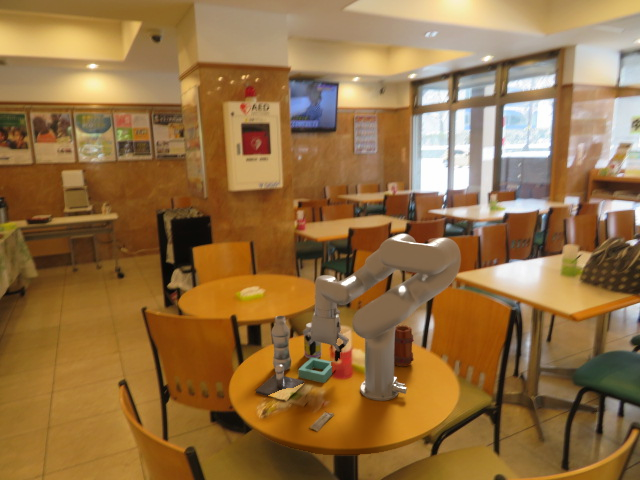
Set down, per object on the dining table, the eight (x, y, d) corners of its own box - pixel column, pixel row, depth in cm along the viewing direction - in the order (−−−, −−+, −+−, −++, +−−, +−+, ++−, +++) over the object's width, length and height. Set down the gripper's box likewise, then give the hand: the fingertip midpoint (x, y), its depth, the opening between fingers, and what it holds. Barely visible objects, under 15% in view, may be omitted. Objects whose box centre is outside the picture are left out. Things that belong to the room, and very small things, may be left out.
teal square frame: (335, 370, 160) (335, 362, 159) (324, 383, 151) (323, 375, 150) (311, 364, 164) (311, 357, 163) (298, 377, 155) (298, 369, 155)
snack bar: (317, 431, 124) (309, 425, 126) (316, 435, 125) (308, 429, 126) (334, 413, 132) (326, 408, 134) (333, 417, 133) (325, 411, 134)
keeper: (304, 383, 151) (303, 360, 149) (286, 401, 140) (285, 376, 139) (275, 376, 156) (273, 354, 154) (255, 393, 146) (254, 369, 144)
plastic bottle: (290, 372, 158) (288, 320, 154) (272, 373, 159) (269, 321, 155) (292, 364, 165) (290, 314, 161) (274, 364, 165) (271, 314, 161)
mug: (418, 363, 163) (419, 325, 160) (407, 371, 157) (408, 332, 154) (385, 352, 173) (385, 316, 170) (373, 359, 167) (373, 322, 164)
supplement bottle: (306, 351, 175) (305, 321, 173) (322, 352, 174) (321, 321, 172) (303, 359, 169) (302, 327, 166) (320, 359, 168) (319, 328, 165)
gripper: (353, 312, 150) (351, 357, 154) (308, 303, 158) (308, 347, 162) (344, 319, 144) (343, 367, 148) (298, 310, 151) (298, 355, 155)
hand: (325, 356), depth 155 cm, fingers open, 9 cm apart
